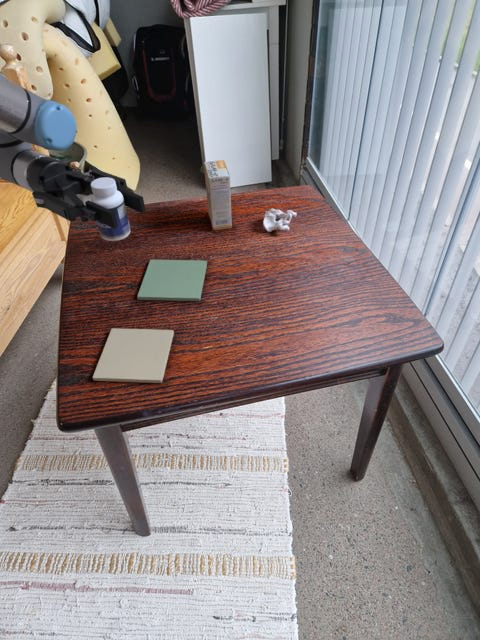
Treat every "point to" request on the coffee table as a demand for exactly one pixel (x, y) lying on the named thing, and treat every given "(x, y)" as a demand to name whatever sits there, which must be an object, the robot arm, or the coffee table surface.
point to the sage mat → (173, 280)
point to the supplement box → (218, 194)
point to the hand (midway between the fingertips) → (128, 212)
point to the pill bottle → (110, 208)
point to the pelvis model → (270, 221)
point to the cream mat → (134, 356)
